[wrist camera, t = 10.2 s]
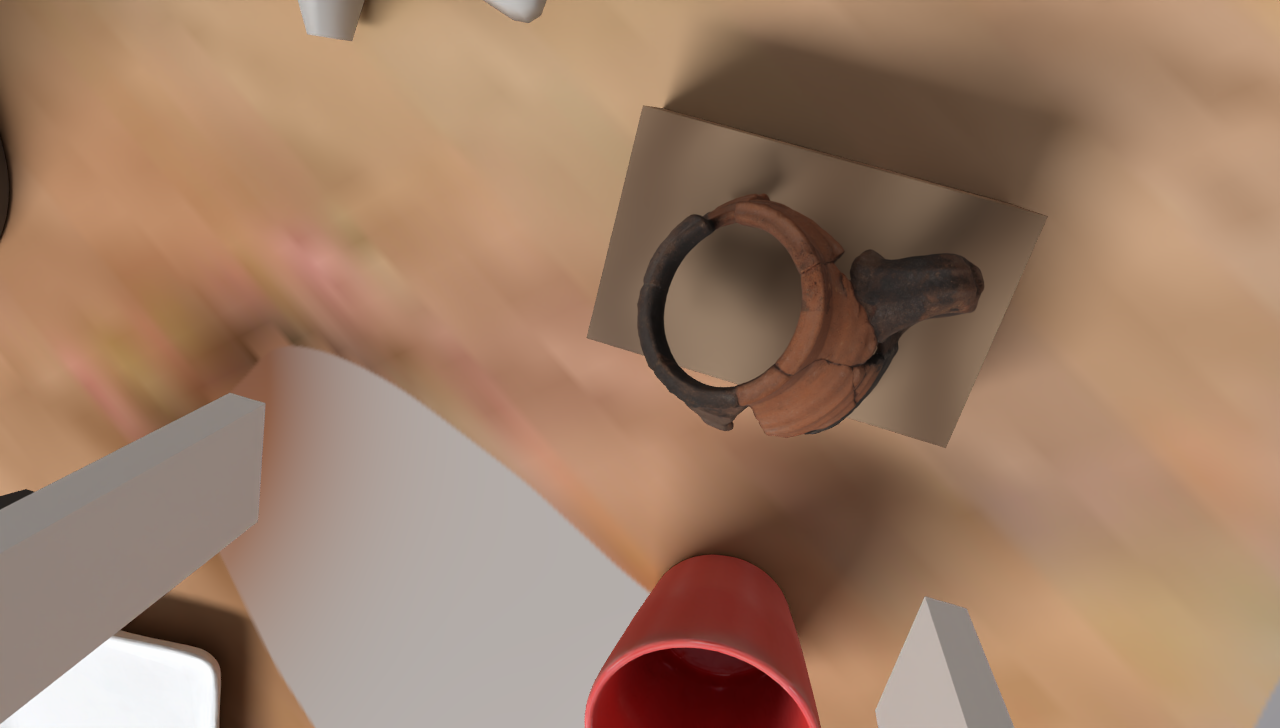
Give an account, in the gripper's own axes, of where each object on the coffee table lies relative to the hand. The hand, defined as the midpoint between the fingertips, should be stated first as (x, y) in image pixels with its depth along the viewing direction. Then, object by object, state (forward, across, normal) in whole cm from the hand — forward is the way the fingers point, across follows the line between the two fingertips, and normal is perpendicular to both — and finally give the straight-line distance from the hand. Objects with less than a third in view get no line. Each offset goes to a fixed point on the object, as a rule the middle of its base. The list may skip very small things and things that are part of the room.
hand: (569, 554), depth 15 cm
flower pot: (+24, +6, -17) cm, 30 cm away
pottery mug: (+19, +5, +2) cm, 20 cm away
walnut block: (+24, +4, +3) cm, 24 cm away
